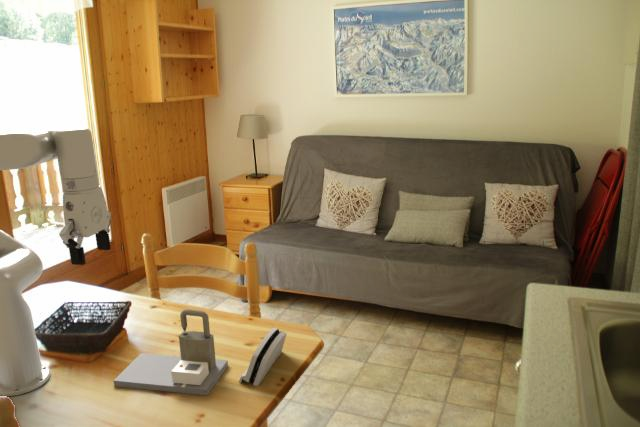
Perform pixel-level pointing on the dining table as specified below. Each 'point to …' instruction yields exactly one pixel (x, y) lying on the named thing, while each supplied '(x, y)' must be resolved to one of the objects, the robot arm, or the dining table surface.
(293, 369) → the dining table surface
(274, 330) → the grey zipper pouch
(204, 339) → the padlock
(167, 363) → the board
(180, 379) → the white electronic device
